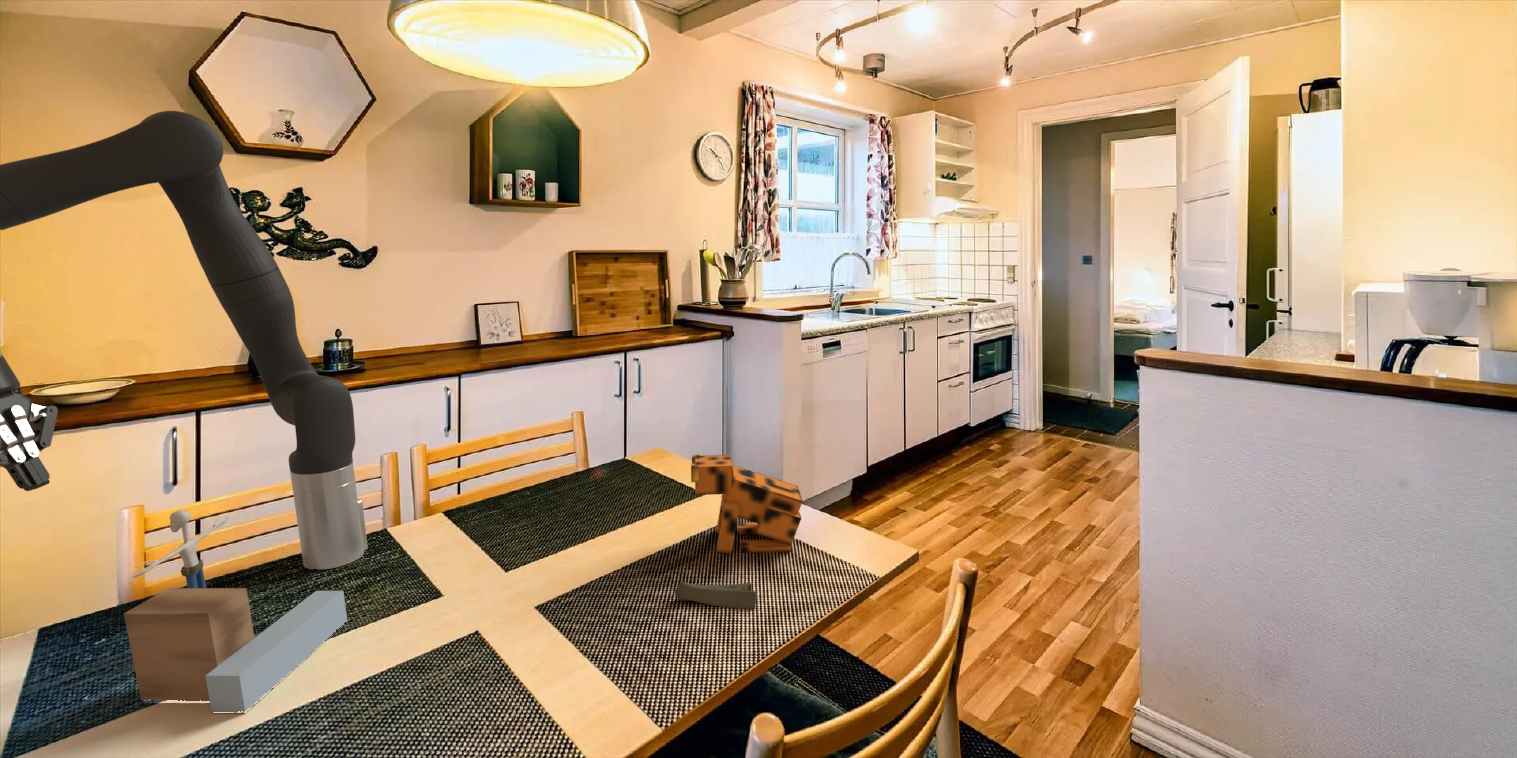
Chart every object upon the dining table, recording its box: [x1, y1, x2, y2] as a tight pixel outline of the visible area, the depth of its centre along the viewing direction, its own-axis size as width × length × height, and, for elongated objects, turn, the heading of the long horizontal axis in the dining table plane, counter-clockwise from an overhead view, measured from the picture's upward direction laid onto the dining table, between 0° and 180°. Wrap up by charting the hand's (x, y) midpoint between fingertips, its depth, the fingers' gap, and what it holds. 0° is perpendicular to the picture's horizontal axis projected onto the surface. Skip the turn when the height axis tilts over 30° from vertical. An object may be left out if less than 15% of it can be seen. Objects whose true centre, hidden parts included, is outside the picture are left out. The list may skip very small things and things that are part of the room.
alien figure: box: [129, 509, 231, 588], centre depth 93 cm, size 20×5×19 cm, turn 8°
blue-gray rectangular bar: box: [205, 590, 348, 713], centre depth 89 cm, size 20×4×5 cm, turn 0°
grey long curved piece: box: [674, 581, 757, 610], centre depth 105 cm, size 13×5×4 cm, turn 83°
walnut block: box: [123, 587, 255, 701], centre depth 83 cm, size 6×10×12 cm, turn 90°
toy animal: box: [690, 454, 803, 555], centre depth 125 cm, size 10×20×16 cm, turn 94°
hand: (38, 487), depth 88 cm, fingers closed
